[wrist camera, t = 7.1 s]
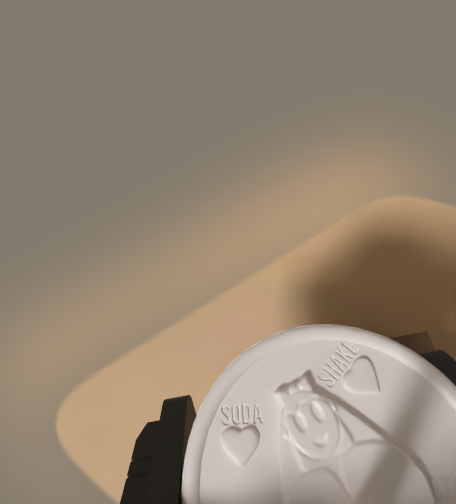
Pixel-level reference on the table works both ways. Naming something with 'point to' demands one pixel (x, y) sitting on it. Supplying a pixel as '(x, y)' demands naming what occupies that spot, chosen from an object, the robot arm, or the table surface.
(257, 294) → the table surface
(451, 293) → the table surface
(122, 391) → the table surface
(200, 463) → the smoothie
